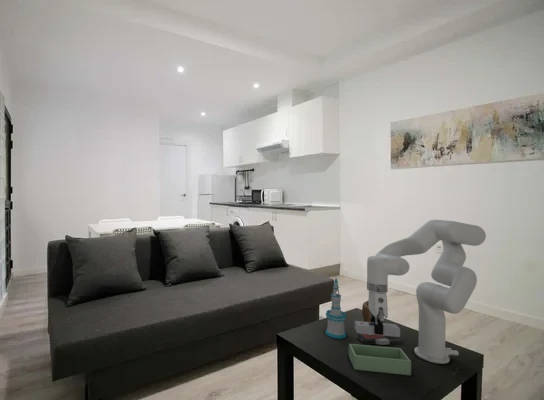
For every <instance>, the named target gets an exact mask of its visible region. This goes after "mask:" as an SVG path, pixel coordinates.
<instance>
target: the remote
mask: <svg viewBox="0 0 544 400" xmlns="http://www.w3.org/2000/svg"><path fill="white" fill-rule="evenodd" d="M374 324H375V323H374V322H364V321H360V320H354V330H355V332H356V334H358V333H360V334H372V335H378V334H375V333H374ZM383 336H386V337H395V338H396V337H397V338H401V328H400V327H399V325H397V324H396V323H385V322H384V325H383Z"/></svg>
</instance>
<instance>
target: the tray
mask: <svg viewBox="0 0 544 400" xmlns="http://www.w3.org/2000/svg"><path fill="white" fill-rule="evenodd" d="M348 358H349V360H350V363H351V365H352V368H353V370H355V371H356V370H357V371H365V372H374V373H375V372H377V373H383V374H391V375H393V374H394V375H403V376H405V375H406V376H412V360H411V359H410V358H409V357H408V355H407V354H406V353H405V351H404V350H403V349H402V348H400V347H391V346H382V345H379V346H378V345H371V344H368V345H366V344H357V343H348Z"/></svg>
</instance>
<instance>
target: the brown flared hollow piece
mask: <svg viewBox="0 0 544 400" xmlns="http://www.w3.org/2000/svg"><path fill="white" fill-rule="evenodd" d="M361 314H362V317H363V322H370V321H371V312H370V310H369V306H368V300H366V301H364V302H363V304H362V308H361ZM378 319H380V318H378Z"/></svg>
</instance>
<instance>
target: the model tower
mask: <svg viewBox="0 0 544 400" xmlns="http://www.w3.org/2000/svg"><path fill="white" fill-rule="evenodd" d="M333 282H334V283H333V286H332V288H333V290H332V293H331V294H330V296H331V297H330V300H331V306H330V309H327V310H326V311H325V316H326V317H325V318H326V319H327V325H326V326H327V328H326V329H325V331H324V333H325V335H326V336H328V337H330V338H333V339H345V338H347V333H346V331H345V321H346V319H347V316H346V315H347V314H346V313H345V311H343V310H342V307H341V301H342V299H341V297H342V295H341V294H340V290H339V289H340V287H339V282H338V279H337V274H335V279H334V281H333Z"/></svg>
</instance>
